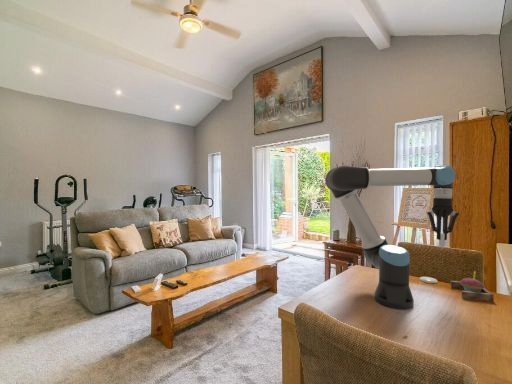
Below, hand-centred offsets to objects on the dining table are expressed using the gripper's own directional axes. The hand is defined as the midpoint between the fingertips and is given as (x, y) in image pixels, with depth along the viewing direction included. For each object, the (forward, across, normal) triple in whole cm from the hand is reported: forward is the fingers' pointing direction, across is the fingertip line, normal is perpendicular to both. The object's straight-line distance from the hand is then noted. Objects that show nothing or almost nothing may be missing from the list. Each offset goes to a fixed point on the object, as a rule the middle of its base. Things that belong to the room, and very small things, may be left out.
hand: (441, 246), depth 125 cm
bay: (+21, +11, 0) cm, 24 cm away
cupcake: (+22, +12, 0) cm, 25 cm away
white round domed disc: (+21, -2, +13) cm, 25 cm away
